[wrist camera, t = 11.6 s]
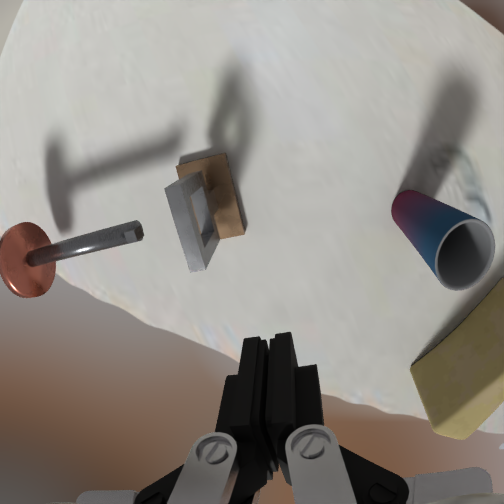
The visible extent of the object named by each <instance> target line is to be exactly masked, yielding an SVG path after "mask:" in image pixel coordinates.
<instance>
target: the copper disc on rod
mask: <svg viewBox="0 0 504 504" xmlns="http://www.w3.org/2000/svg"><path fill="white" fill-rule="evenodd" d="M143 236H144V233H143V228H142V225H141V223H140V222H139V221H137V220H136V221H132V222H128V223H124V224H121V225H117V226H113V227H109V228H106V229H102V230H99V231H95V232H91V233H88V234H84V235H81V236H77V237H74V238H71V239H67V240H64V241H60V242H57V243H54V244H51V242H50V240H49V238H48V236H47V235H46V233H45V232H44V231H43V230H42V229H41V228H40V227H39V226H38V225H36V224H34V223H31V222H23V223H20V224H17V225H15V226H13V227H11V228H9V229H8V230H7V231H6V232H5V233H4V234H3V236H2V238H1V240H0V274H1V277H2V279H3V281H4V283H5V284H6V286H7V287H8V288H9V289H10V290H11V291H12V292H13V293H14V294H15V295H17V296H19V297H22V298H32V297H38V296H41V295H43V294H45V293H46V292H47V291H48V290H49V288H50V287H51V285H52V283H53V280H54V277H55V271H56V261H59V260H63V259H67V258H71V257H75V256H79V255H83V254H87V253H91V252H95V251H100V250H104V249H108V248H112V247H116V246H120V245H125V244H129V243H133V242H138V241H141V240H142V239H143Z"/></svg>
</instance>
